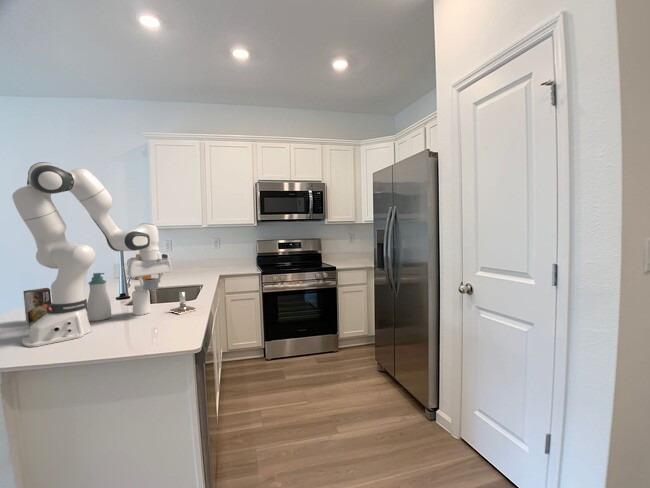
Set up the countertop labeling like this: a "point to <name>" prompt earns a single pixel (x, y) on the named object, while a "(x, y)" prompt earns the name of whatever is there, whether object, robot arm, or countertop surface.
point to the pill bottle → (140, 300)
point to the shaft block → (182, 304)
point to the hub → (150, 284)
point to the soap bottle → (98, 299)
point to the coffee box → (36, 304)
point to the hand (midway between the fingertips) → (150, 283)
